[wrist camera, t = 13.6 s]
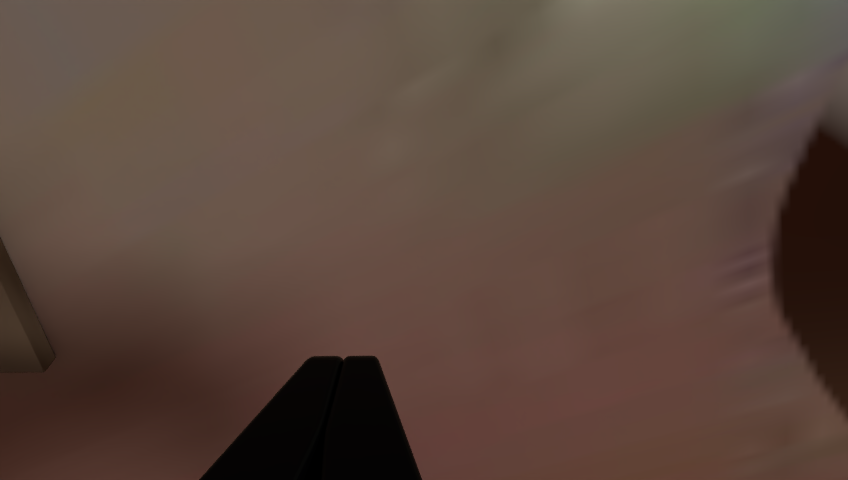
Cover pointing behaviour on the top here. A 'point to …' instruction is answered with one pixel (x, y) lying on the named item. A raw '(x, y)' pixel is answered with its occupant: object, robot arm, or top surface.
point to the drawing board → (19, 325)
